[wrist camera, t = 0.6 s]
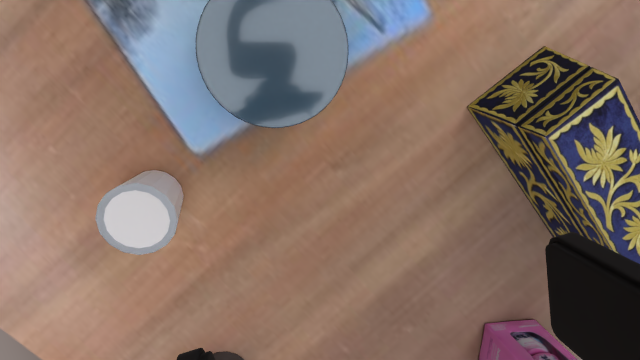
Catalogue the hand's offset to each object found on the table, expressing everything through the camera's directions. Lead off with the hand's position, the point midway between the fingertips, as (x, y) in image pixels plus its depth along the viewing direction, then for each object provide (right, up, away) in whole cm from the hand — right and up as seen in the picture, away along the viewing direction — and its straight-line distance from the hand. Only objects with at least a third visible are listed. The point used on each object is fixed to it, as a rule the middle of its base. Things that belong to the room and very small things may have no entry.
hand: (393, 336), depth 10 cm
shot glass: (-19, +3, +31) cm, 37 cm away
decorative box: (+28, +5, +38) cm, 48 cm away
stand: (-7, +17, +29) cm, 34 cm away
